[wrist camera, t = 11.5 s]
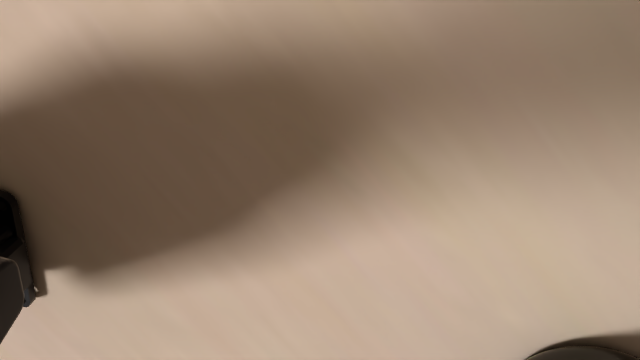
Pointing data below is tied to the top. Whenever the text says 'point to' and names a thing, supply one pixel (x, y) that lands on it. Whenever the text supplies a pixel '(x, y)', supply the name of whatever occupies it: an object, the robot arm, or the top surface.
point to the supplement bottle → (582, 354)
